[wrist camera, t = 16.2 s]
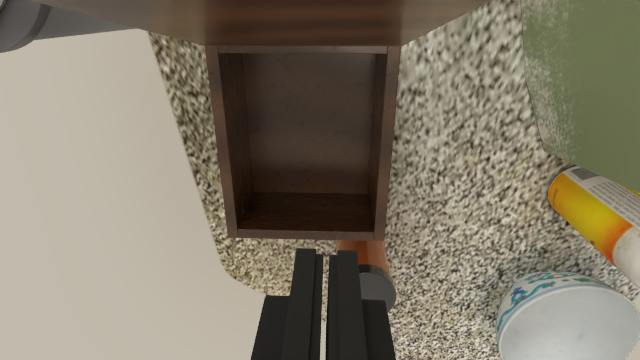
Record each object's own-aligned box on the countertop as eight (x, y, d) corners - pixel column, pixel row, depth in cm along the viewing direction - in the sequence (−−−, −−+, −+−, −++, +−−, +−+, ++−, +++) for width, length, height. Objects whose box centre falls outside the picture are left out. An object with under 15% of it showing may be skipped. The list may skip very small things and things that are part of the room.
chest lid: (529, -18, 10) (534, -53, 9) (-37, -17, 10) (-45, -50, 10) (402, 46, 28) (403, 34, 28) (202, 45, 28) (201, 34, 28)
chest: (375, 197, 44) (384, 241, 36) (247, 195, 44) (227, 237, 36) (386, 32, 36) (401, 40, 28) (233, 31, 37) (203, 39, 29)
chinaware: (499, 235, 45) (529, 277, 38) (619, 253, 46) (670, 298, 39) (461, 326, 52) (481, 376, 45) (566, 341, 52) (602, 393, 45)
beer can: (550, 217, 44) (646, 312, 30) (538, 175, 42) (636, 256, 28) (605, 198, 43) (731, 288, 29) (596, 153, 40) (728, 228, 27)
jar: (326, 232, 46) (323, 287, 37) (370, 211, 45) (379, 263, 36) (349, 267, 48) (352, 328, 39) (392, 248, 47) (406, 307, 38)
